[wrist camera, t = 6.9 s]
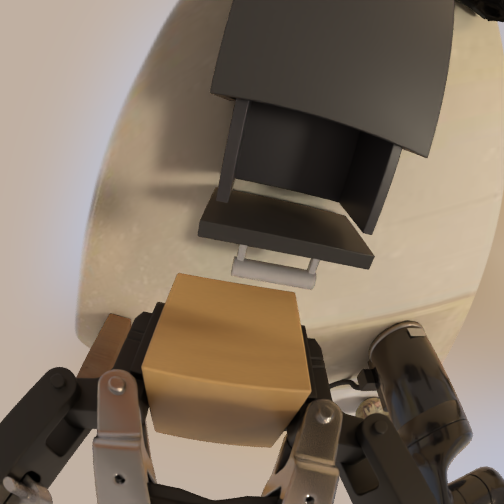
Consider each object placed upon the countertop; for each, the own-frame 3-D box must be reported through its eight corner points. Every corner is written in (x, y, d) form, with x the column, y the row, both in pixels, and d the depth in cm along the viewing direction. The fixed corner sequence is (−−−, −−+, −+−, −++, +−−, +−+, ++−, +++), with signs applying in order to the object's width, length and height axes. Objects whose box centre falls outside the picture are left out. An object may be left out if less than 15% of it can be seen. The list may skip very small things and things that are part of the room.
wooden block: (109, 312, 34) (64, 400, 21) (131, 318, 34) (90, 411, 21) (114, 343, 37) (79, 424, 24) (133, 348, 37) (102, 433, 24)
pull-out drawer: (327, 264, 28) (347, 314, 22) (206, 240, 27) (191, 288, 20) (383, 85, 19) (431, 82, 13) (246, 44, 18) (242, 15, 11)
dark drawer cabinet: (372, 138, 23) (427, 158, 14) (227, 99, 22) (209, 93, 13) (400, 6, 15) (454, -20, 7) (264, -39, 14) (267, -94, 6)
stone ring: (348, 401, 44) (358, 446, 35) (361, 391, 43) (373, 437, 34) (383, 405, 46) (394, 444, 37) (395, 396, 45) (408, 436, 36)
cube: (268, 363, 13) (271, 448, 9) (175, 349, 12) (154, 432, 8) (295, 291, 10) (312, 391, 7) (177, 271, 10) (140, 367, 6)
